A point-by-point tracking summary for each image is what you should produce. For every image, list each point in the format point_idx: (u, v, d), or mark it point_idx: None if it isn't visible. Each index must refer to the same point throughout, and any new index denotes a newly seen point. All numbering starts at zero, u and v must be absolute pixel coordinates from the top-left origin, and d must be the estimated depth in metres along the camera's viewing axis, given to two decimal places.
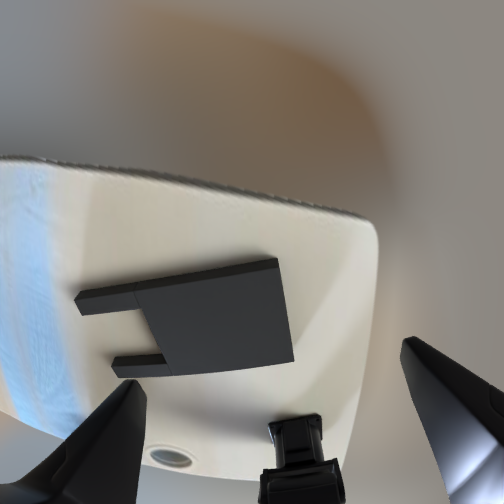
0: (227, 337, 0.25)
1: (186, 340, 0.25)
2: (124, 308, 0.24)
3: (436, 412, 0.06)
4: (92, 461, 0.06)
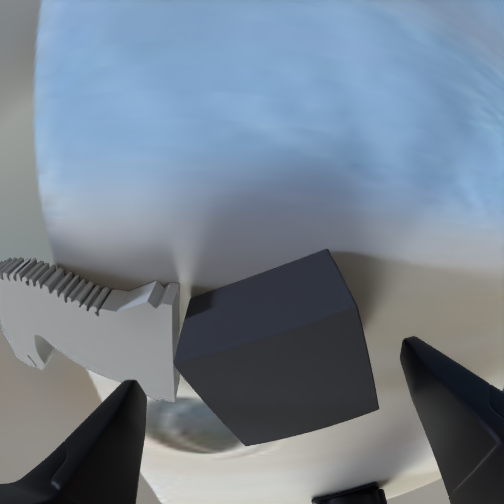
0: None
1: None
2: None
3: (436, 412, 0.06)
4: (92, 461, 0.06)
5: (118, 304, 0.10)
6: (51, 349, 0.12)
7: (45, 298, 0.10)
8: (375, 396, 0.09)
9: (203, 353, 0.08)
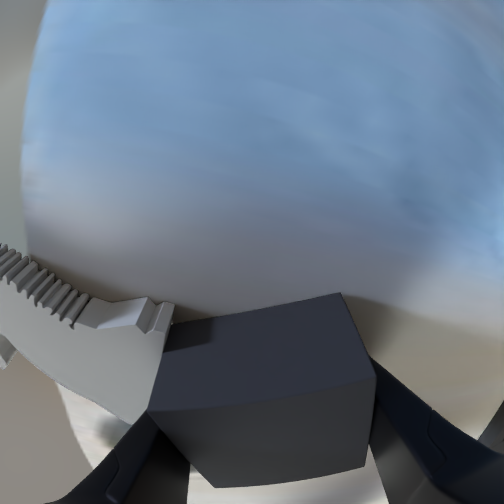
0: None
1: None
2: None
3: (376, 432, 0.07)
4: (147, 468, 0.06)
5: (97, 319, 0.08)
6: (15, 347, 0.10)
7: (12, 296, 0.07)
8: (365, 456, 0.08)
9: (186, 405, 0.06)
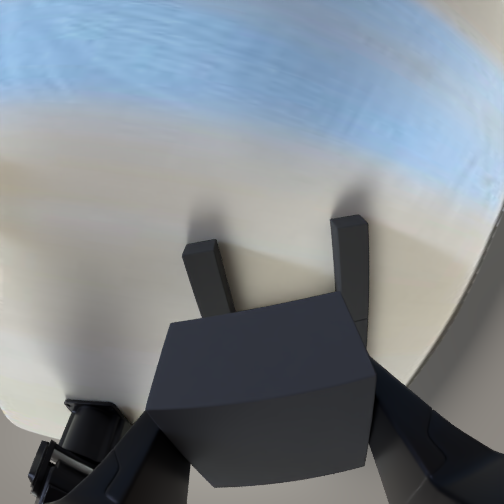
0: None
1: None
2: None
3: (376, 432, 0.07)
4: (147, 468, 0.06)
5: None
6: None
7: None
8: (365, 455, 0.08)
9: (184, 404, 0.06)
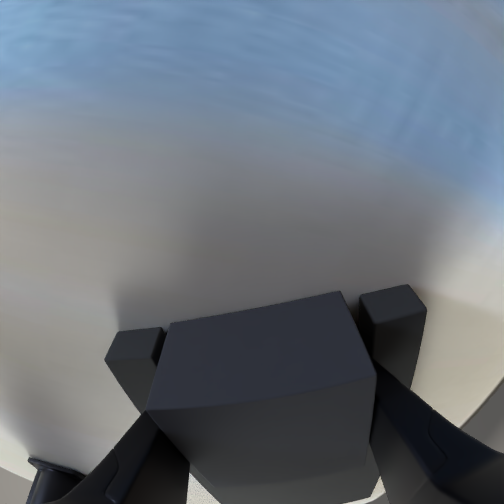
0: (283, 494, 0.14)
1: None
2: None
3: (377, 432, 0.07)
4: (147, 468, 0.06)
5: None
6: None
7: None
8: (365, 455, 0.08)
9: (184, 404, 0.06)
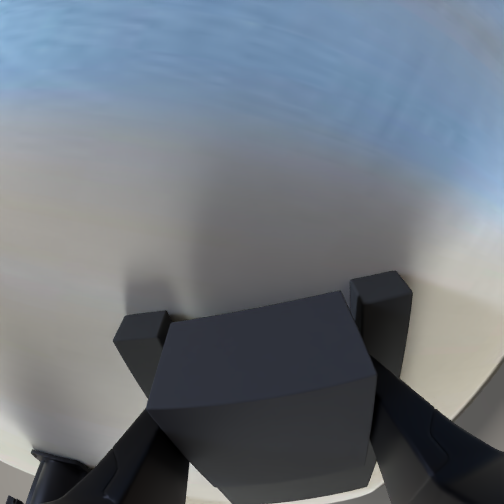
0: None
1: None
2: None
3: (379, 431, 0.07)
4: (145, 468, 0.06)
5: None
6: None
7: None
8: (365, 455, 0.08)
9: (185, 404, 0.06)
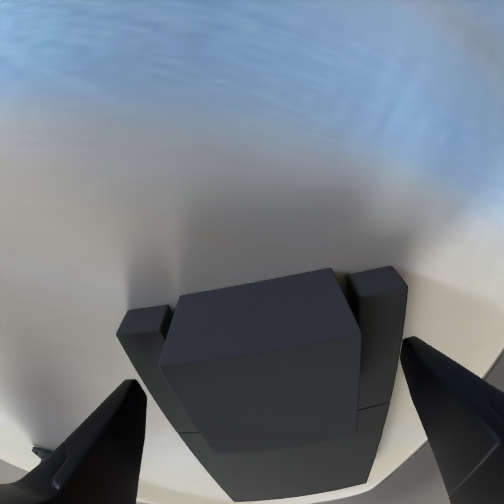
0: (281, 476, 0.15)
1: (277, 452, 0.13)
2: (361, 390, 0.11)
3: (436, 412, 0.06)
4: (92, 461, 0.06)
5: None
6: None
7: None
8: (355, 421, 0.09)
9: (194, 359, 0.08)
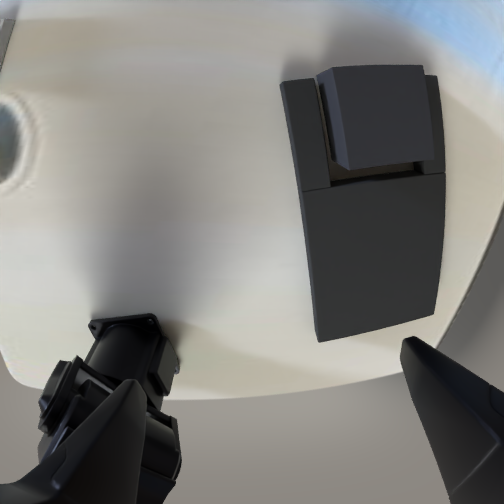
0: (372, 274, 0.20)
1: (374, 224, 0.18)
2: None
3: (436, 412, 0.06)
4: (92, 461, 0.06)
5: None
6: None
7: None
8: None
9: (350, 66, 0.13)
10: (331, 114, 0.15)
